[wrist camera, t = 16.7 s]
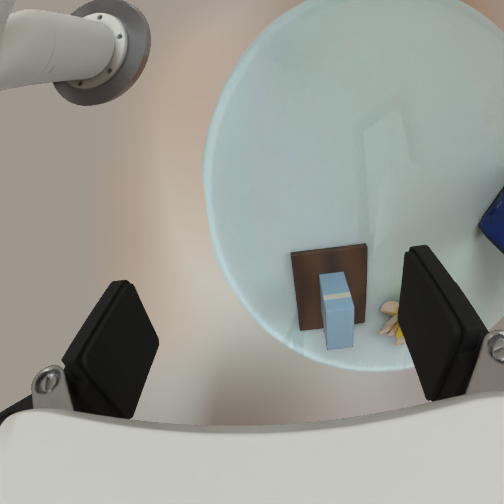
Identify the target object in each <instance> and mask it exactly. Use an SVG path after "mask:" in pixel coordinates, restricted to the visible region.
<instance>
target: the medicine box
mask: <svg viewBox="0 0 504 504" xmlns="http://www.w3.org/2000/svg"><path fill="white" fill-rule="evenodd" d="M319 282H320V297H321V313H322V319H323V326H324V332H325V339H326V345H327V350H332V349H340V348H347V347H353V332H354V304H353V301H352V298H351V294H350V291H349V288H348V284H347V281H346V278H345V275H344V272H336V273H328V274H320V275H319Z"/></svg>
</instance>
